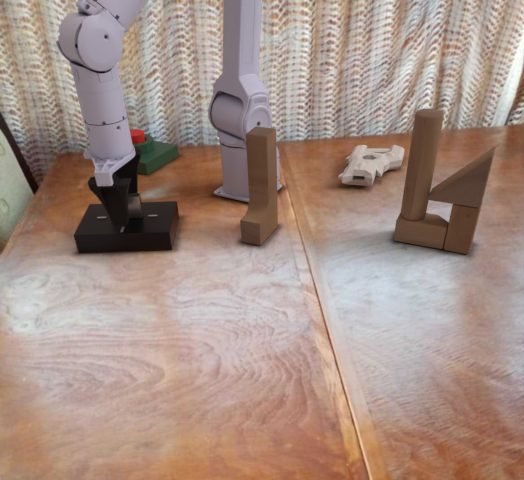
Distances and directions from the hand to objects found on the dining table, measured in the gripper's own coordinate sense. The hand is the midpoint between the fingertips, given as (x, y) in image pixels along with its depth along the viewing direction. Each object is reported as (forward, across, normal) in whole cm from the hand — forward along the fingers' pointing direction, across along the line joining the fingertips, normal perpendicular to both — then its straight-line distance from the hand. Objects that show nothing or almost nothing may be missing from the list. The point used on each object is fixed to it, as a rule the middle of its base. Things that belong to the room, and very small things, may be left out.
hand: (125, 211), depth 81 cm
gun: (+4, -20, +41) cm, 46 cm away
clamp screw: (+1, 0, 0) cm, 1 cm away
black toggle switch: (+4, 0, 0) cm, 4 cm away
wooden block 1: (+4, +1, +20) cm, 21 cm away
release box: (+4, -30, -4) cm, 30 cm away
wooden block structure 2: (+4, +5, +45) cm, 46 cm away
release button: (0, -30, -4) cm, 30 cm away
